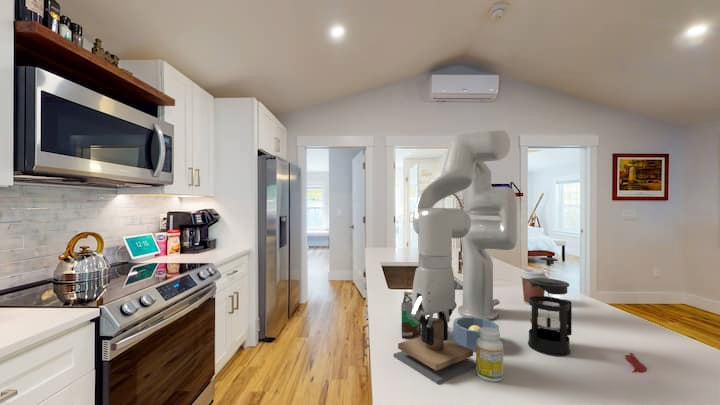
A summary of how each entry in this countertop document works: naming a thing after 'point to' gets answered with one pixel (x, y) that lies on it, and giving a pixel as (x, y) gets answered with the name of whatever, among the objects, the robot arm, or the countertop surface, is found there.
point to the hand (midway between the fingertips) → (434, 340)
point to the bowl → (470, 330)
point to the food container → (409, 318)
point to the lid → (436, 349)
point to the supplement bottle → (489, 355)
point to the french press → (546, 329)
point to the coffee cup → (527, 288)
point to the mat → (440, 374)
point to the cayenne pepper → (635, 363)
